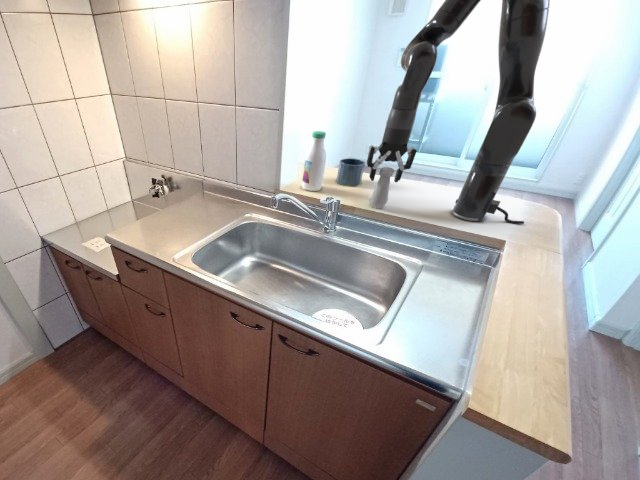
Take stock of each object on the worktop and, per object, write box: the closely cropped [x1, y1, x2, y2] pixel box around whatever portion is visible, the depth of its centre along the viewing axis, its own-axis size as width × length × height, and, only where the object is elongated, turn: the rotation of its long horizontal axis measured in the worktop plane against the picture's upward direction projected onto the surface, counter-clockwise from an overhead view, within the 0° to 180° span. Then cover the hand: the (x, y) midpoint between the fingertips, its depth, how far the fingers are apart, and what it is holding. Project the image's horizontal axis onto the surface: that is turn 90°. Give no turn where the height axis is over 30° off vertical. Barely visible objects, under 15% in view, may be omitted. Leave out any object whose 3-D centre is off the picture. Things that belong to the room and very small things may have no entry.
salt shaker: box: [369, 166, 395, 210], centre depth 109 cm, size 6×6×13 cm
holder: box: [336, 158, 366, 187], centre depth 130 cm, size 10×10×8 cm
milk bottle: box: [301, 130, 327, 192], centre depth 121 cm, size 8×8×20 cm
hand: (383, 180), depth 108 cm, fingers open, 7 cm apart
